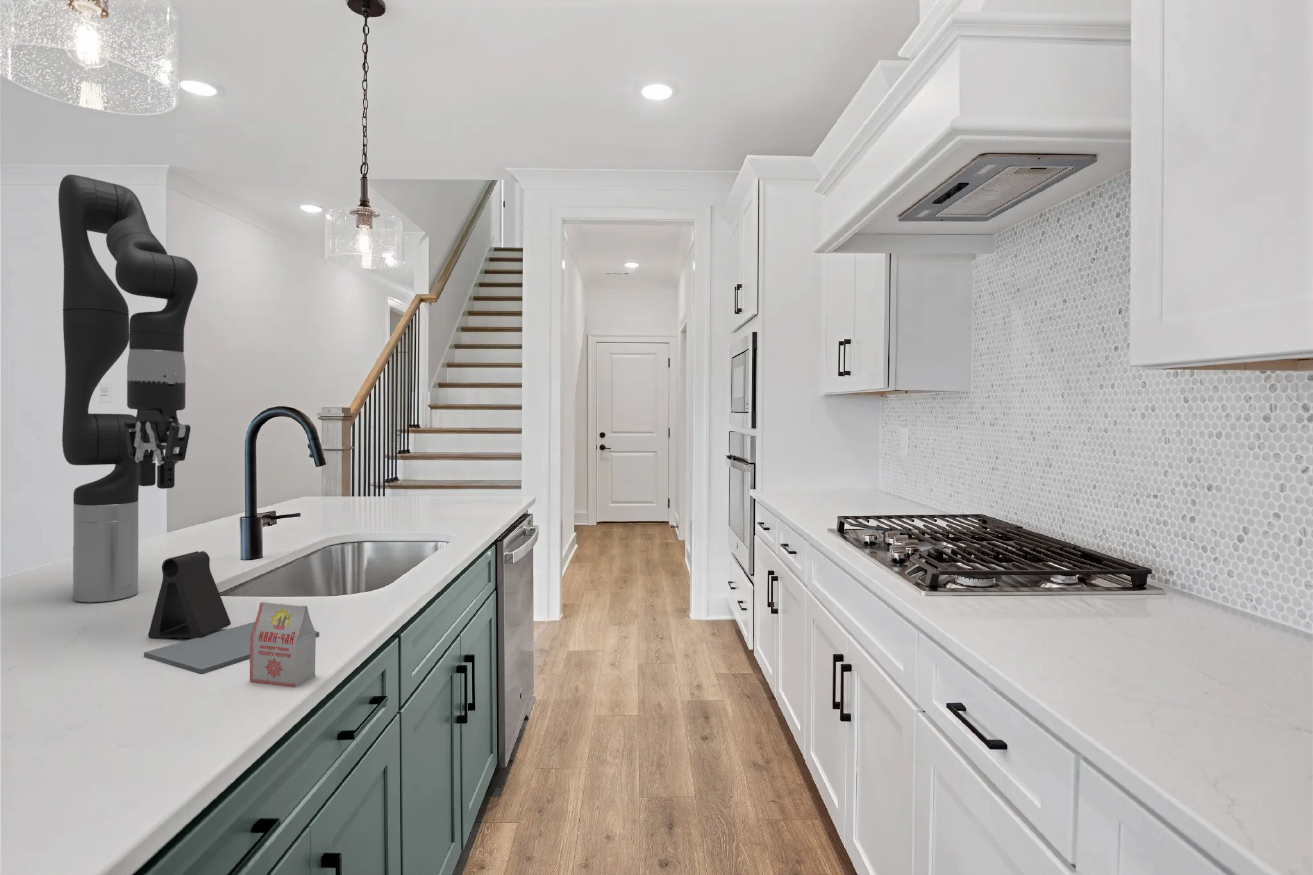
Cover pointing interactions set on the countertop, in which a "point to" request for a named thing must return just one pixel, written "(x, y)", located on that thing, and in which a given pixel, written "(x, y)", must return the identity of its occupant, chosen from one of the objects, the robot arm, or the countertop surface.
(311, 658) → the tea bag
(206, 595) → the phone stand
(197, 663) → the mat
